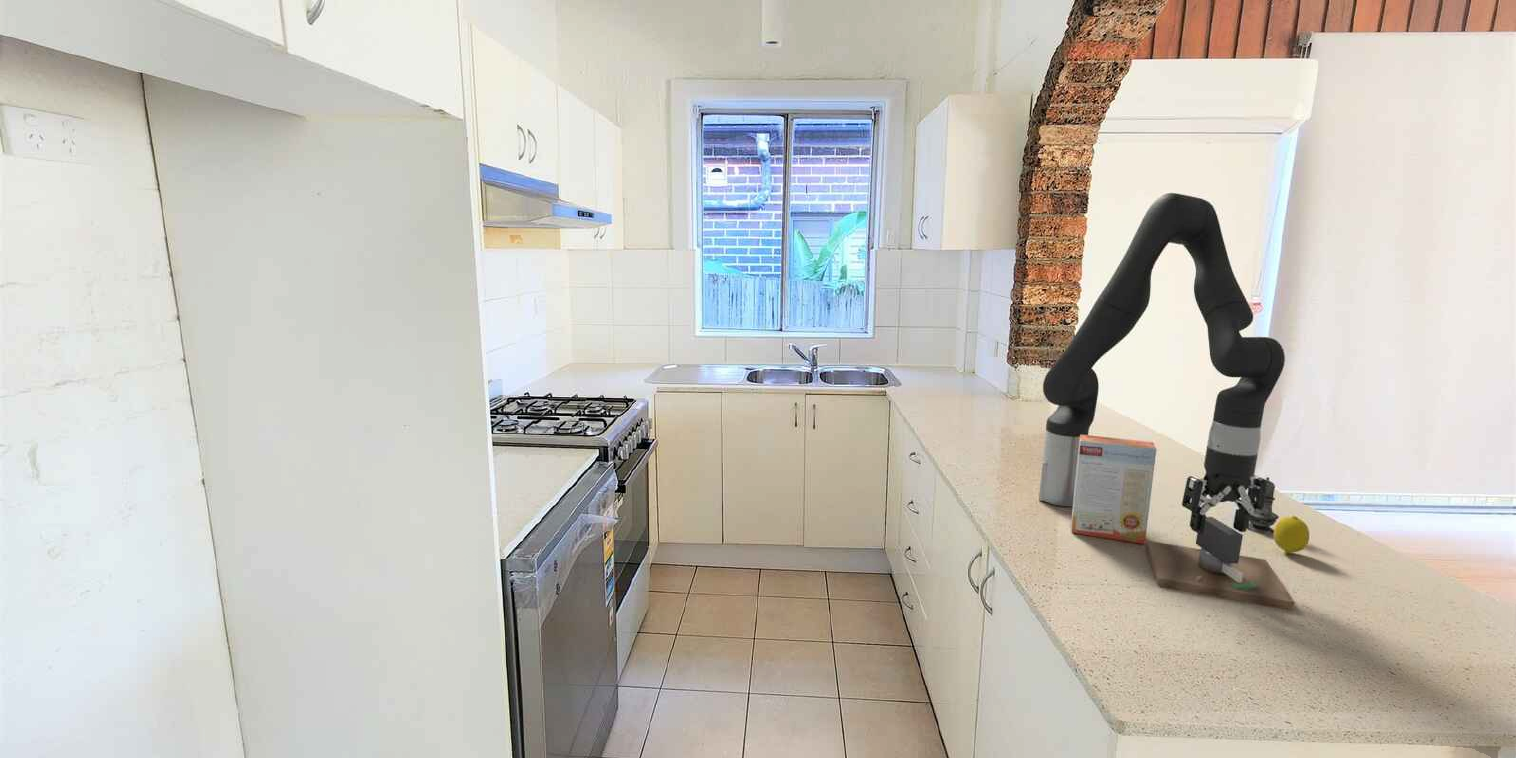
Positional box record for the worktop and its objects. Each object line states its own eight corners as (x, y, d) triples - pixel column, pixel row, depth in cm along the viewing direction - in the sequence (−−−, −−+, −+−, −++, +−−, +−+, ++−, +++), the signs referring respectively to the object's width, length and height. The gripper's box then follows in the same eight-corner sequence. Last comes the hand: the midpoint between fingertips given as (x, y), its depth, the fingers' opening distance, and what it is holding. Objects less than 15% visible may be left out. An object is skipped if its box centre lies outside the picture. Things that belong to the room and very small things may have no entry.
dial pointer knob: (1186, 557, 127) (1192, 516, 126) (1212, 557, 127) (1218, 516, 126) (1225, 584, 117) (1232, 541, 115) (1253, 584, 117) (1260, 541, 115)
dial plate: (1157, 585, 120) (1158, 576, 120) (1145, 547, 135) (1147, 538, 135) (1293, 610, 112) (1295, 600, 112) (1264, 566, 127) (1266, 557, 127)
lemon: (1298, 549, 135) (1305, 513, 133) (1310, 561, 130) (1317, 523, 128) (1266, 545, 137) (1272, 509, 135) (1277, 557, 131) (1283, 519, 130)
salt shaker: (1281, 535, 141) (1291, 482, 139) (1251, 533, 142) (1259, 480, 140) (1267, 524, 147) (1275, 473, 145) (1237, 522, 148) (1245, 471, 146)
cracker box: (1142, 534, 141) (1154, 440, 137) (1145, 545, 136) (1158, 448, 132) (1070, 522, 147) (1080, 432, 143) (1070, 533, 142) (1080, 439, 138)
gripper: (1212, 454, 114) (1197, 541, 118) (1286, 452, 116) (1270, 538, 119) (1180, 441, 122) (1168, 523, 125) (1251, 440, 123) (1237, 521, 126)
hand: (1218, 530), depth 122 cm, fingers open, 8 cm apart
